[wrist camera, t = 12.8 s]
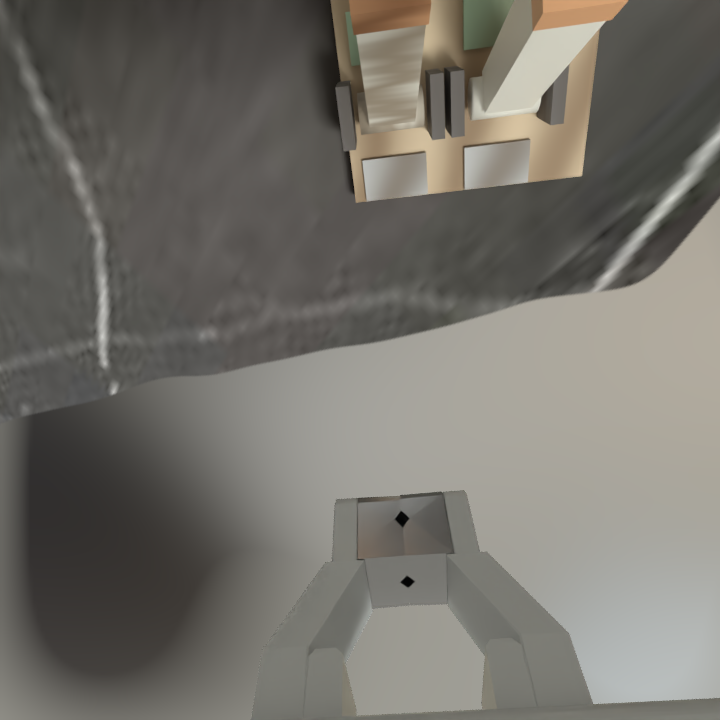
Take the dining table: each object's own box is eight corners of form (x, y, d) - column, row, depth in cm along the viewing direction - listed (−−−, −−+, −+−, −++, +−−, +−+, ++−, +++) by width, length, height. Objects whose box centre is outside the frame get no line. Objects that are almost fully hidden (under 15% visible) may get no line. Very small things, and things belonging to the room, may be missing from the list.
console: (353, 196, 38) (346, 288, 25) (323, -38, 30) (290, -78, 17) (573, 170, 37) (685, 253, 24) (602, -82, 29) (790, -161, 16)
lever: (469, 127, 33) (528, 15, 18) (466, 84, 32) (525, -65, 18) (531, 119, 32) (642, -2, 18) (530, 75, 32) (641, -83, 18)
